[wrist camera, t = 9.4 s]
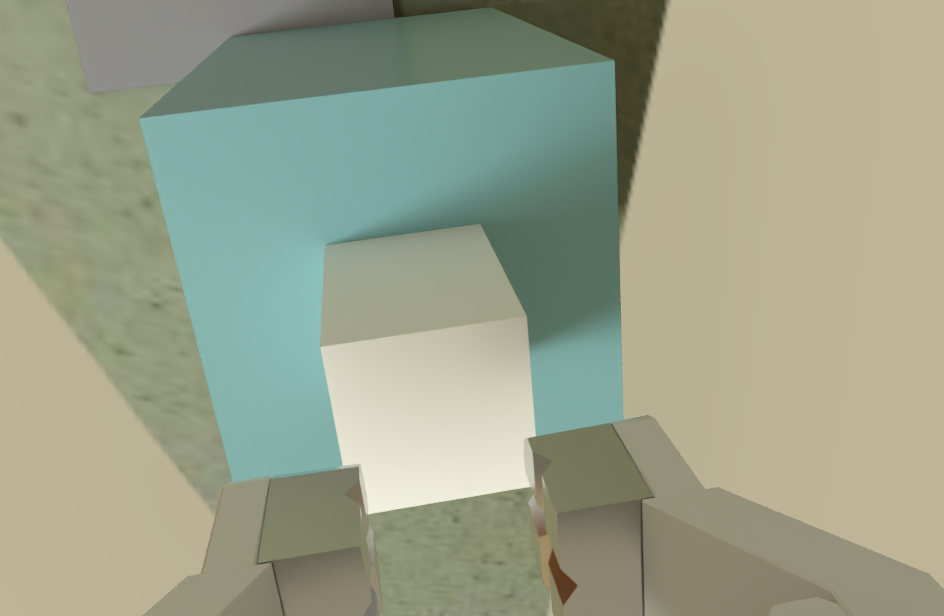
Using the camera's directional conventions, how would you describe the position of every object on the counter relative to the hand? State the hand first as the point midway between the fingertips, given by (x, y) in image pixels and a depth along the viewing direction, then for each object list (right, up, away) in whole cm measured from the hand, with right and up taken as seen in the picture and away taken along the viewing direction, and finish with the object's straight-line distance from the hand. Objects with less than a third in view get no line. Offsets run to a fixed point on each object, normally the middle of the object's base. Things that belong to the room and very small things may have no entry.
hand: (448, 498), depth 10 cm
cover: (-3, +8, +19) cm, 21 cm away
